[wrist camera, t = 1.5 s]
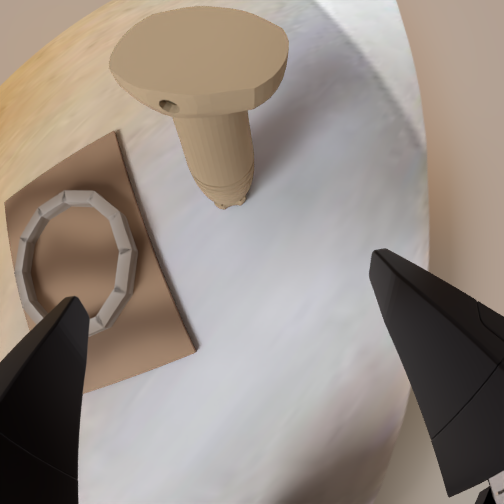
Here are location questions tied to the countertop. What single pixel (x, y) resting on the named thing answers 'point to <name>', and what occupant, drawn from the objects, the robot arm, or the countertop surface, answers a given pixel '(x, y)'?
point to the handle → (206, 86)
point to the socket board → (95, 263)
